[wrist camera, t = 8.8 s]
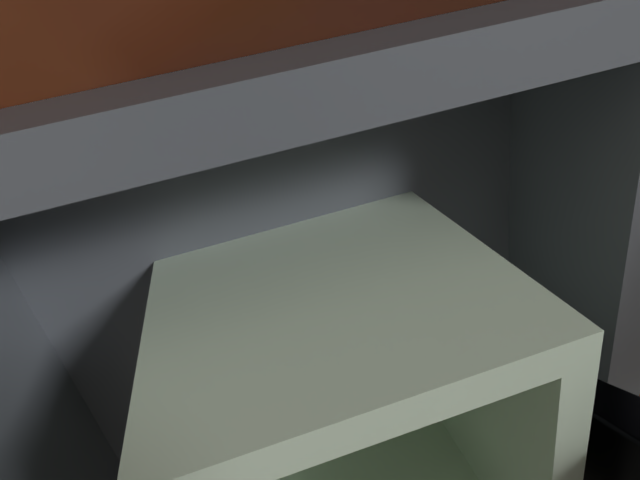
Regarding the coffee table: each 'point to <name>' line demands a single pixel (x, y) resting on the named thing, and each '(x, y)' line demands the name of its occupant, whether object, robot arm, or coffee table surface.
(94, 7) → the coffee table surface
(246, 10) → the coffee table surface
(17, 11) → the coffee table surface
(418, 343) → the sage crate
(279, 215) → the grey crate
